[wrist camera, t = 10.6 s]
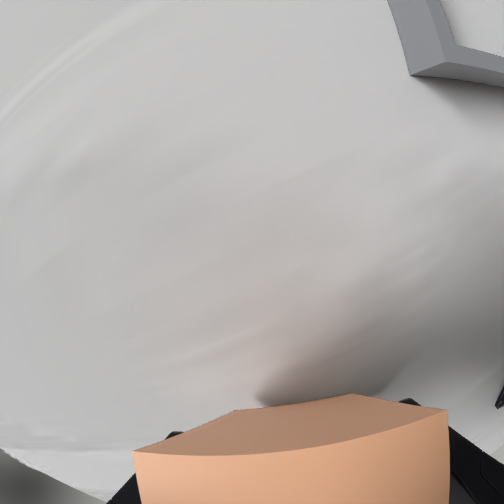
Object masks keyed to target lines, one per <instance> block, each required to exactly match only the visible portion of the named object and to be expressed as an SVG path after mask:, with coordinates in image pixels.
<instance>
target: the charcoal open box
mask: <svg viewBox="0 0 504 504" xmlns="http://www.w3.org/2000/svg"><path fill="white" fill-rule="evenodd" d="M387 1H388V3H389V6H390V9H391V12H392V15H393V17H394V20H395V24H396V27H397V30H398V33H399V36H400V40H401V43H402V47H403V50H404V54H405V58H406V62H407V65H408V70H409V74H410V75H414V76H429V77H440V78H449V79H457V80H465V81H471V82H478V83H484V84H489V85H494V86H499V87H504V57H501V56H497V55H494V54H490V53H487V52H483V51H479V50H475V49H471V48H466V47H462V46H457V45H455V42H454V39H453V36H452V32H451V29H450V26H449V24H448V21H447V18H446V15H445V12H444V10H443V7H442V5H441V2H440V0H387Z"/></svg>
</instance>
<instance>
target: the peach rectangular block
mask: <svg viewBox="0 0 504 504" xmlns="http://www.w3.org/2000/svg"><path fill="white" fill-rule="evenodd" d="M132 453H133V460H134V466H135V472H136V478H137V483H138V488H139V493H140V498H141V502H142V504H449V490H450V449H449V429H448V417H447V410H444V409H437V408H429V407H423V406H416V405H410V404H404V403H399V402H393V401H388V400H383V399H378V398H373V397H368V396H363V395H359V394H355V393H350V394H346V395H341V396H336V397H331V398H326V399H320V400H315V401H309V402H303V403H296V404H290V405H282V406H274V407H266V408H256V409H246V410H234V411H232V412H230V413H228V414H226V415H224V416H221V417H219V418H217V419H215V420H212V421H210V422H208V423H206V424H203V425H201V426H199V427H196V428H194V429H191V430H189V431H186V432H184V433H181V434H179V435H176V436H174V437H171V438H168V439H166V440H163V441H160V442H157V443H155V444H152V445H149V446H146V447H143V448H140V449H137V450H134V451H132Z"/></svg>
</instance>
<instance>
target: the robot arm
mask: <svg viewBox="0 0 504 504" xmlns="http://www.w3.org/2000/svg"><path fill="white" fill-rule="evenodd" d="M399 403H404V404H410V405H416V406H421V405H420V404H418V403H417V402H416V401H414V400H413V399H411V398H407V399H404V400H401V401H399ZM502 406H504V388H503V390H502V392H501V394H500V396H499V398H498V400H497V402H496V404H495V407H496V408H497V409H499V408H501V407H502ZM448 429H449V449H450V490H449V504H504V464H502V463H500V462H498V461H497V460H496V459H494V458H493V457H491V456H490V455H488V454H487V453H485V452H484V451H483V452H482V450H481V449H480V448H478V447H477V446H475V445H474V444H473V443H471V442H470V441H469V440H467V439H466V438H464V437H463V436H462V435H460V434H459V433H458V432H456V431H455V430H453V429H452V428H451V427H449V426H448ZM181 433H184V432H177V431H174V432H171V433H170V434H169V435H168V436H167V437H166V439H168V438H171V437H174V436H176V435H179V434H181ZM166 439H165V440H166ZM106 504H142V502H141V498H140V493H139V488H138V483H137V478H136V472H135V474H134V475H133V476H132V477H131V478H130V479H129V480H128V481H127V482H126V483H125V484H124V486H123V487H122V488H121V489H120V490H119V491H118V492H117V493H116V494H115V495H114V496H113V497H112V499H110V500H109V501H108V502H107V503H106Z"/></svg>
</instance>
